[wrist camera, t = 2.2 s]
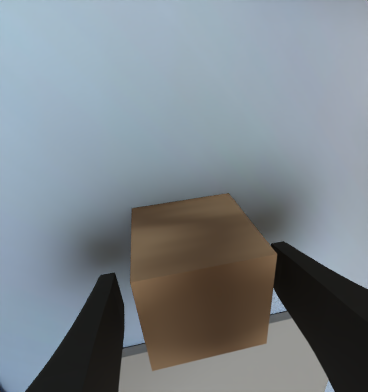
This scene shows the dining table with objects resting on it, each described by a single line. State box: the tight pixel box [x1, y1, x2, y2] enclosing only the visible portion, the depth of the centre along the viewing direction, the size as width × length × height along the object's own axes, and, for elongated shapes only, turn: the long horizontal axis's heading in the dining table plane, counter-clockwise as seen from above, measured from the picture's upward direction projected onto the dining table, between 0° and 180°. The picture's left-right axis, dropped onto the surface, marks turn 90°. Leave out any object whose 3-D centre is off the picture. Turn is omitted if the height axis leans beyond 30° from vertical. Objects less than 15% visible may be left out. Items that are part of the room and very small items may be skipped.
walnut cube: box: [130, 193, 277, 371], centre depth 11 cm, size 5×5×5 cm
